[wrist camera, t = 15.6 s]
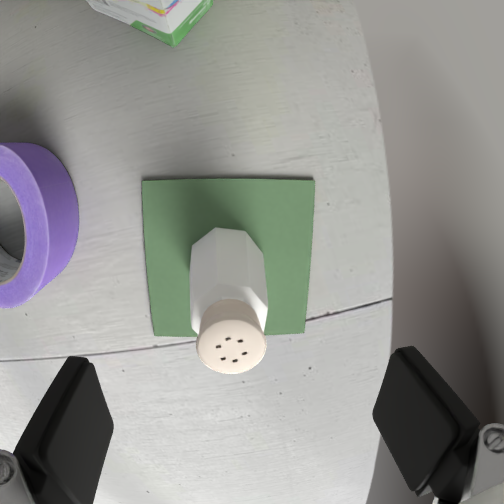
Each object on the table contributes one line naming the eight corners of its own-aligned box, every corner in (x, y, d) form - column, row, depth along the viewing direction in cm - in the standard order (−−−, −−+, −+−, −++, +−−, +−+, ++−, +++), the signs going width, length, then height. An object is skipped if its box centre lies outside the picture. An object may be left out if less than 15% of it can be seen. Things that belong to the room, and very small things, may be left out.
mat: (313, 180, 22) (315, 180, 21) (303, 331, 25) (304, 333, 25) (142, 180, 20) (141, 180, 20) (154, 334, 24) (154, 336, 24)
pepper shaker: (177, 237, 22) (141, 306, 11) (253, 216, 22) (285, 268, 11) (200, 305, 23) (190, 409, 13) (271, 286, 23) (309, 381, 13)
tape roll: (97, 271, 22) (71, 297, 17) (-1, 293, 21) (-31, 316, 17) (63, 121, 18) (28, 114, 14) (-33, 170, 18) (-69, 176, 13)
